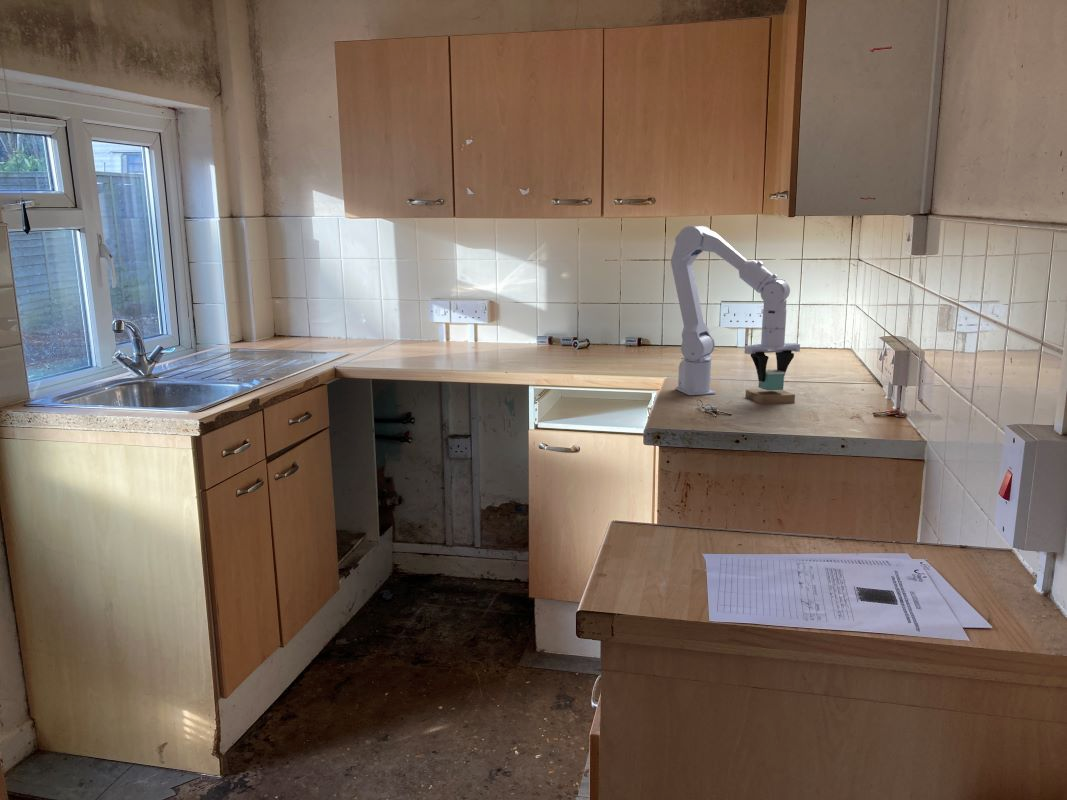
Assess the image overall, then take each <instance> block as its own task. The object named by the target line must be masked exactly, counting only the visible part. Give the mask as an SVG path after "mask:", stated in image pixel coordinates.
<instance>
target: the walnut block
mask: <svg viewBox="0 0 1067 800" xmlns="http://www.w3.org/2000/svg"><path fill="white" fill-rule="evenodd" d="M745 398H746V399H749V400H750V401H753V402H755V403H758V404H761V405H776V404H779V405H780V404H791V403H792V404H793V403H794V404H795V403H796V401H795V400H796V394H795V393H792V392H789V391H787V390H785V389H783V390H765V389H762V388H752V389H745Z"/></svg>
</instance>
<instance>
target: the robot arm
mask: <svg viewBox="0 0 1067 800" xmlns="http://www.w3.org/2000/svg"><path fill="white" fill-rule="evenodd" d="M674 238H675V239H674V241H675V244H674V248H673V251H672V255H671V259H670V264H671V269H672V270H671V271H672V276H673V279H674V283H675V288H676V293H677V298H678V302H679V303H678V304H679V308H680V313H681V318H682V323H683V329H682V332H681V339H682V342H681V346H680V350H681V351H680V352H681V354H682V356H683V359H682V360H681V361H680V363H679V366H678V381H677V382H678V383H677V386H675V387H674V389H675V390H677V391H678V392H681V393H683V394H686V395H688V396H700V395H701V396H702V395H716V394H717V392H716V391H715V390H713V389H711V376H712V357H711V354H712V353H713V352H714V350H715V347H716V343H715V339H714V338H713V336H712V335H711V334H710V330H709V328H708V326H707V325H706V323H705V322H704V321H705V320H704V316H703V312H702V308H701V303H700V302H701V301H700V299H699V293H698V287H697V282H696V278H695V272H694V268H693V263H694V262H695V261H696V259H697V257H698V256H699V255H700V254H701V253H703V252H708V253H709V252H710V253H715V254H716V255H717V256H719V257H720V258H722V259H723V260H724V261H725V262H726V263H729V265H731V266H732V267H734V268H735V269H736V270H737V271H738V276H739V279H741V280H742V281H743V282H744V283H746V284H747V285H748V286H749V287H750V288H751V289H753V290H754V291H756V292H757V294H758V293H759V294H760V298H761V300H762V301H763V305H762V306H763V309H762V318H761V319H762V320H761V321H762V322H761V323H762V324H761V339H760V341H761V343H757V344H749V345H745V346H744V354H747V355H750V357H751V359H752V361H753V364H754V366H755V370H756V374H757V378H758V379H757V380H758V382H759V381H762V382H765V376H766V370H767V366H768V361H769V355H766V354H771V353H773V354H774V353H775V358H776V370H780V371H783V372H785V374H784V377H785V375H786V372H787V370H788V368H789V366H790V364H791V362H792V360H793V359H794V358H795V353H794V352H798V353H799V352H800V351H801V344H800V343H797V342H796V343H794V342H792V343H790V342H789V343H787V342H786V341H785V339H786V323H787V299H788V297H789V296H790V294H791V288H790V286H789V284H788V283H787V282H786V280H785V279H783V278H778V277H779V276H778V275H777V274H776V273H772V272H770V271H769V270H768V269H767V268H766V267H765V266H764V263H763V261H761V260H758V261H757V260H755V259H749V260H747V258H745V257H744V256H743V255H742V254H741V253H740V252H738V251H737V250H736V249H735V248H734V247H733V246H732V245H730V243H728V242H727V240H725V239H724V238H723V237H721V236H720V234H718V233H717V232H715V231H713V230H711V229H710V228H709V227H708V226H706V225H698V226H697V225H695V226H693V225H688V226H685V227H683V228H682V229H681V230H680V231H679V232H678V234H677V235H676V237H674ZM785 342H786V343H785Z"/></svg>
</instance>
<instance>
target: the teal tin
mask: <svg viewBox="0 0 1067 800" xmlns="http://www.w3.org/2000/svg"><path fill="white" fill-rule="evenodd" d="M784 374H785V375H786V373H785V372H783V371H780V370H777V368H774V369H766V376H765V382H762V381H759V380H758V389H765V390H784V382H785V376H784Z"/></svg>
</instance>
